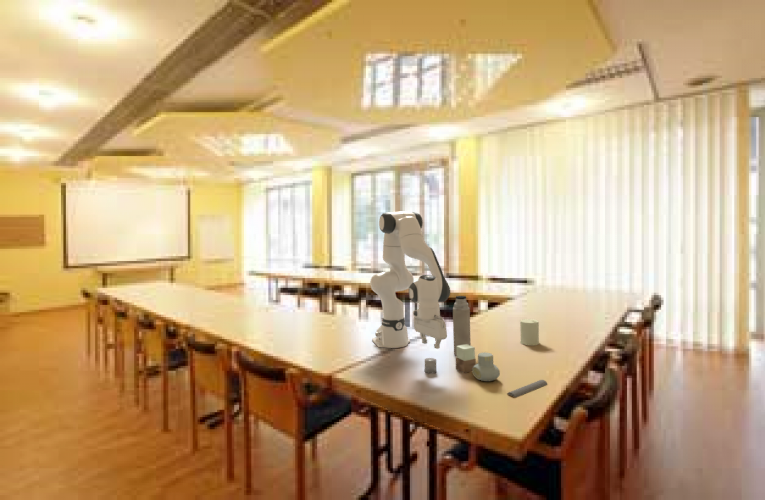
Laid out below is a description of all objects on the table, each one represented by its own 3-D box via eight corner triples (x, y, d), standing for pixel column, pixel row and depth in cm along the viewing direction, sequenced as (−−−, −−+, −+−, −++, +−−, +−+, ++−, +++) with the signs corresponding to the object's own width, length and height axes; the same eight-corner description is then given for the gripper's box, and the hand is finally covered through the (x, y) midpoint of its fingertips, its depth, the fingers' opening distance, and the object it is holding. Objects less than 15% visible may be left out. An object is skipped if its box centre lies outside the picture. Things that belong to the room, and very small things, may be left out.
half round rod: (548, 386, 157) (548, 381, 157) (515, 399, 146) (515, 394, 146) (538, 382, 160) (538, 378, 160) (506, 395, 149) (505, 390, 149)
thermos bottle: (455, 350, 203) (453, 294, 201) (471, 351, 200) (470, 295, 199) (452, 355, 195) (451, 297, 194) (469, 356, 193) (468, 297, 191)
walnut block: (455, 368, 178) (455, 357, 177) (467, 366, 180) (466, 355, 180) (464, 373, 172) (464, 361, 172) (475, 370, 175) (475, 358, 175)
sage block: (456, 357, 177) (456, 346, 177) (466, 355, 180) (466, 344, 180) (464, 361, 172) (464, 349, 172) (474, 358, 175) (474, 347, 175)
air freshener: (502, 382, 161) (502, 357, 160) (483, 385, 158) (483, 359, 158) (487, 373, 171) (487, 349, 171) (470, 375, 169) (469, 351, 168)
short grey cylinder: (422, 370, 177) (422, 359, 176) (432, 368, 179) (432, 357, 179) (428, 374, 172) (428, 362, 172) (438, 372, 174) (438, 360, 174)
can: (533, 346, 205) (533, 322, 205) (516, 343, 212) (516, 320, 212) (542, 342, 212) (542, 319, 211) (526, 339, 218) (525, 317, 218)
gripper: (450, 316, 166) (451, 350, 167) (422, 309, 184) (424, 339, 185) (437, 318, 163) (438, 352, 164) (410, 311, 182) (412, 341, 182)
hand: (430, 345), depth 175 cm, fingers open, 8 cm apart
